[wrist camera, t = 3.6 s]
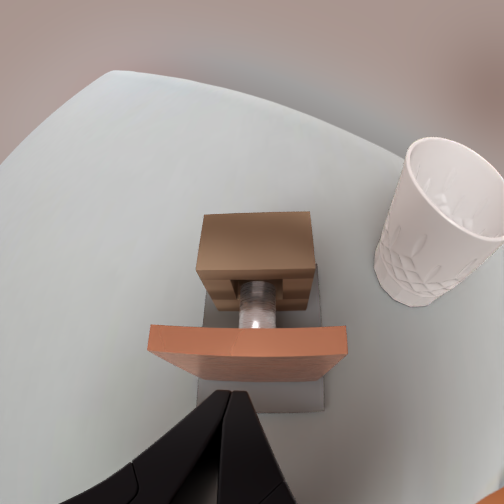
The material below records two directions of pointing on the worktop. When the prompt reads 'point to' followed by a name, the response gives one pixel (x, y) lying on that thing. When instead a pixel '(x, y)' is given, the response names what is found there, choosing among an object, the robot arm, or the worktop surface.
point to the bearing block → (267, 270)
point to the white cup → (439, 221)
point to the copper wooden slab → (252, 345)
